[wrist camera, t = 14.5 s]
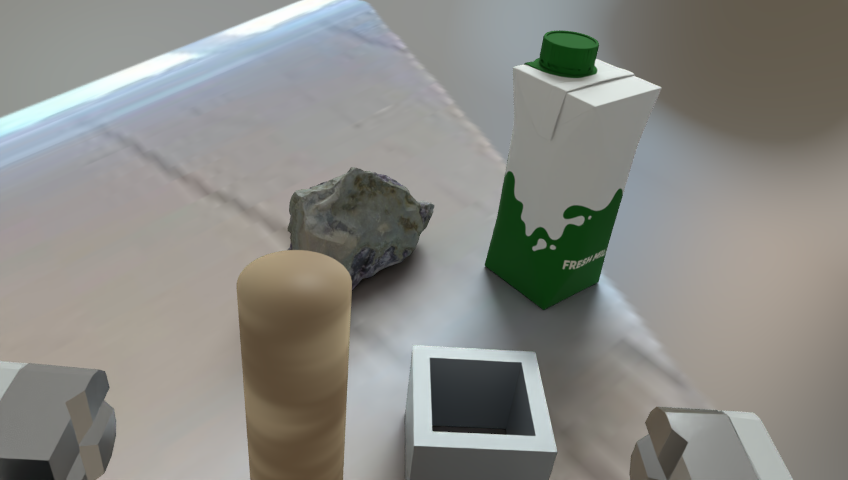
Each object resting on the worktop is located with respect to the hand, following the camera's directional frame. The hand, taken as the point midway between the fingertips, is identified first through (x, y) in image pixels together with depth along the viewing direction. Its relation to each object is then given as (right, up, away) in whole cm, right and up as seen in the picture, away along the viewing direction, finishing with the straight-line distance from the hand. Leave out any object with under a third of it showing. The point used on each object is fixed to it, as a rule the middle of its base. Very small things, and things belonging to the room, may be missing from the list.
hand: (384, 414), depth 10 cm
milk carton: (+11, -1, +49) cm, 51 cm away
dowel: (-5, -15, +23) cm, 28 cm away
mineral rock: (-5, 0, +48) cm, 48 cm away
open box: (+3, -11, +32) cm, 34 cm away
